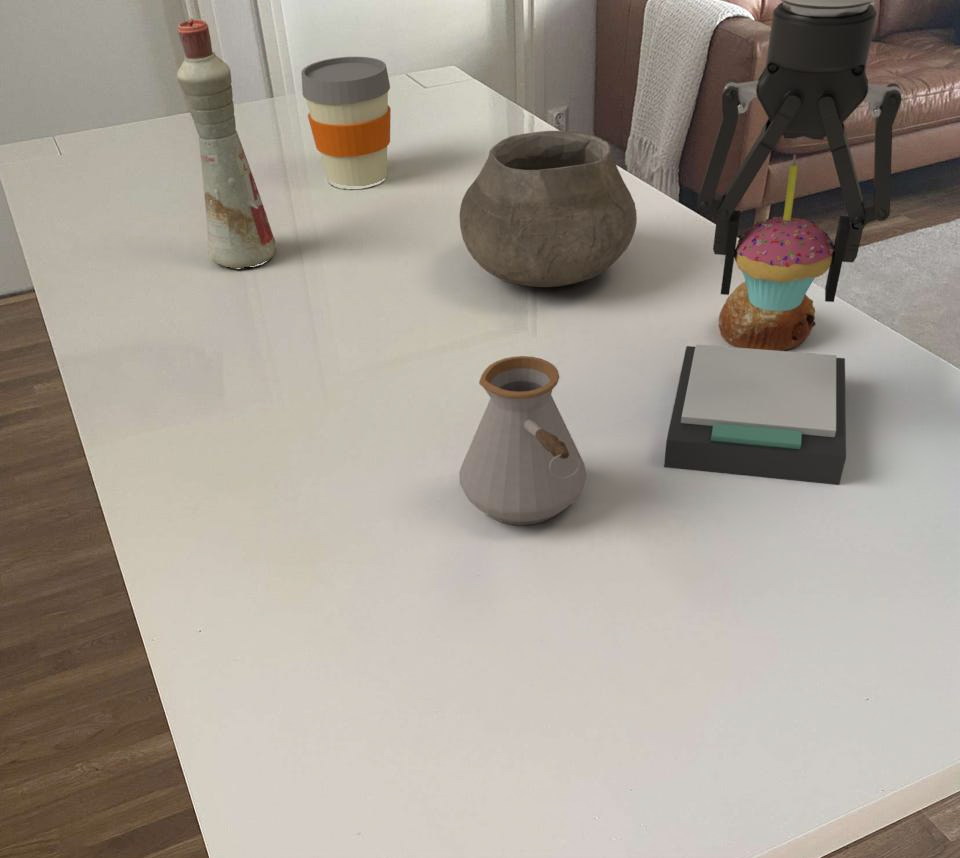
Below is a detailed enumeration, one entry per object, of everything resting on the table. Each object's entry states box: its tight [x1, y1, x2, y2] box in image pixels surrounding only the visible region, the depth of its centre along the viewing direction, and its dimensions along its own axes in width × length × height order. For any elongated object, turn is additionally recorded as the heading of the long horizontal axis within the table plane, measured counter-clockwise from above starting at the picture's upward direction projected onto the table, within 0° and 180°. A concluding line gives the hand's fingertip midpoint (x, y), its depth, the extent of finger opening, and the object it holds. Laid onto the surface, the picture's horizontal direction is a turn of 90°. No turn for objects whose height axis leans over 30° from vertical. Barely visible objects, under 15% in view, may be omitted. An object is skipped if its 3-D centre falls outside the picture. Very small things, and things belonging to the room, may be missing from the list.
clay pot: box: [459, 130, 638, 288], centre depth 121 cm, size 22×21×15 cm
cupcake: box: [734, 153, 835, 311], centre depth 88 cm, size 9×8×12 cm
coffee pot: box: [459, 355, 587, 526], centre depth 84 cm, size 21×12×15 cm, turn 11°
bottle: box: [176, 17, 277, 269], centre depth 124 cm, size 9×9×28 cm
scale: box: [663, 344, 847, 485], centre depth 99 cm, size 16×18×4 cm
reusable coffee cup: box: [301, 56, 391, 186], centre depth 147 cm, size 13×13×15 cm
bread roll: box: [718, 280, 816, 351], centre depth 112 cm, size 10×10×8 cm
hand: (777, 291), depth 91 cm, fingers closed on cupcake, 8 cm apart
